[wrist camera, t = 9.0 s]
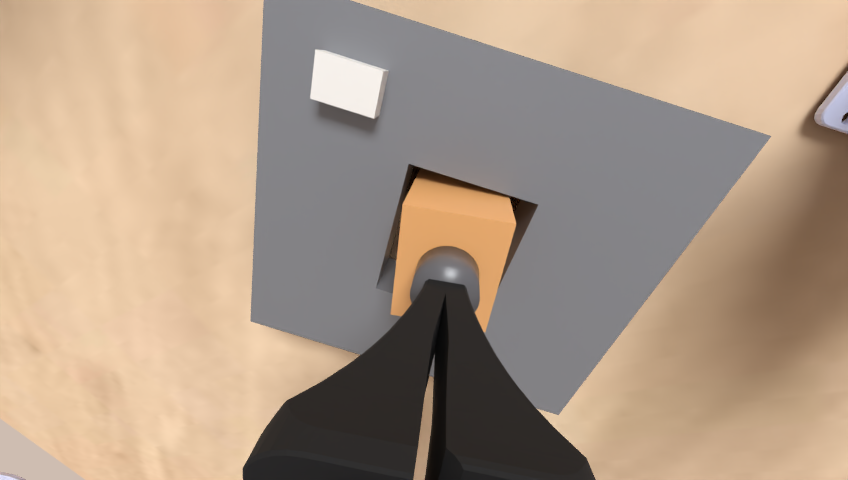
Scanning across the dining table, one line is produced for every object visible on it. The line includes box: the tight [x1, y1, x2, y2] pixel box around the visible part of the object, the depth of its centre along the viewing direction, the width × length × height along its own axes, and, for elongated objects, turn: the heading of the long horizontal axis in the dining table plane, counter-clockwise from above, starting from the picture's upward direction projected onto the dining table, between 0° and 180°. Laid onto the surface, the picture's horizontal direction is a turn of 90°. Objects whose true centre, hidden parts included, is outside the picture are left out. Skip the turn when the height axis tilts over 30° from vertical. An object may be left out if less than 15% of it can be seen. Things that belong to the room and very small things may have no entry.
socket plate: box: [251, 0, 771, 415], centre depth 16 cm, size 18×16×4 cm
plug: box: [391, 168, 516, 332], centre depth 15 cm, size 4×5×7 cm
